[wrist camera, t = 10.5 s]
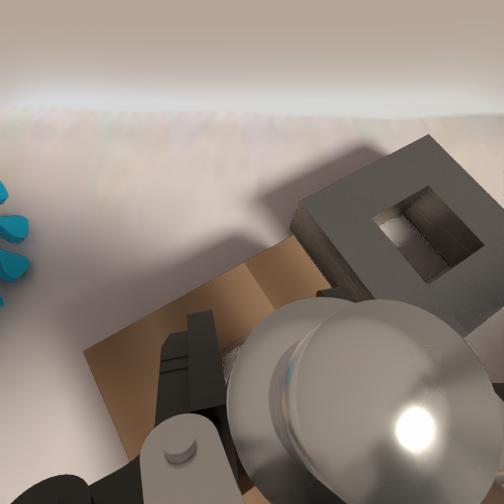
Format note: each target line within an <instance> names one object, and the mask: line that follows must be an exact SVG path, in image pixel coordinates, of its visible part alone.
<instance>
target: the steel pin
mask: <svg viewBox="0 0 504 504" xmlns="http://www.w3.org/2000/svg"><path fill="white" fill-rule="evenodd" d="M226 393H227V403H226V404H227V418H228V424H229V429H230V432H231V436H232V439H233V442H234V445H235V448H236V451H237V454H238V456H239V459H240V461H241V463H242V465H243V467H244V469H245V471H246V472H247V474H248V476H249V477H250V479H251V481H252V482H253V484H254V485H255V486H256V487H257V489H258V490H259V491H260V492H261V494H262V495H263V496H264V497H265V498H266V499H267V500H268V501H269V502H270V503H271V504H480V503H481V502H482V500H483V499H484V498H485V497H486V495H487V493H488V491H489V490H490V488H491V486H492V484H493V482H494V479H495V476H496V474H497V471H498V467H499V463H500V459H501V451H502V422H501V415H500V409H499V405H498V401H497V397H496V394H495V392H494V389H493V386H492V383H491V381H490V379H489V377H488V375H487V373H486V371H485V369H484V367H483V365H482V364H481V362H480V360H479V359H478V357H477V356H476V354H475V353H474V352H473V350H472V349H471V348H470V346H469V345H468V344H467V343H466V342H465V341H464V339H463V338H462V337H461V336H460V335H459V334H458V333H457V332H456V331H455V330H453V329H452V328H451V327H450V326H449V325H448V324H446V323H445V322H444V321H442V320H441V319H439V318H438V317H436V316H435V315H433V314H431V313H429V312H428V311H426V310H424V309H421V308H419V307H417V306H414V305H411V304H408V303H405V302H400V301H395V300H384V299H376V300H366V301H362V302H358V303H354V302H351V301H347V300H343V299H338V298H330V297H316V298H307V299H302V300H298V301H295V302H292V303H289V304H287V305H285V306H283V307H281V308H279V309H277V310H275V311H274V312H272V313H271V314H270V315H268V316H267V317H266V318H264V319H263V320H262V321H261V322H260V323H259V324H258V325H257V326H256V327H255V328H254V330H253V331H252V332H251V333H250V335H249V336H248V337H247V339H246V341H245V342H244V344H243V345H242V347H241V349H240V351H239V353H238V356H237V358H236V360H235V363H234V365H233V368H232V371H231V373H230V376H229V378H228V381H227V384H226Z"/></svg>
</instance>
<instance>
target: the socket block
mask: <svg viewBox="0 0 504 504" xmlns="http://www.w3.org/2000/svg"><path fill="white" fill-rule="evenodd" d="M401 212H403V213H404V214H405V215H406V216H407V217H408V219H409V220H410V221H411V222H412V223H413V224H414V225H415V227H416V228H417V229H418V230H419V231H420V232H421V233H422V235H423V236H424V237H425V238H426V239H427V240H428V241H429V242H430V244H431V245H432V246H433V247H434V248H435V249H436V250H437V252H438V253H439V254H440V255H441V256H442V257H443V258H444V260H445V261H446V262H447V263H448V264H449V265H450V266H448V267H447V268H446V269H444V270H443V271H441V272H440V273H438V274H437V275H436V276H434V277H433V278H431V279H430V280H428V281H427V282H426V283H425V281H424V280H423V279H422V278H421V277H420V275H419V274H418V273H417V272H416V271H415V269H414V268H413V267H412V266H411V265H410V263H409V262H408V261H407V260H406V259H405V257H404V256H403V255H402V254H401V253H400V251H399V250H398V249H397V248H396V247H395V245H394V244H393V243H392V242H391V241H390V240H389V238H388V237H387V236H386V235H385V234H384V232H383V231H382V230H381V229H380V228H379V225H381V224H383V223H384V222H386V221H388V220H389V219H391V218H393V217H394V216H396V215H398V214H400V213H401ZM290 228H291V229H292V231H293V232H294V234H295V235H296V236H297V238H298V239H299V240H300V242H301V243H302V244H303V246H304V247H305V249H306V250H307V251H308V253H309V254H310V255H311V257H312V258H313V259H314V261H315V262H316V264H317V265H318V266H319V268H320V269H321V270H322V272H323V273H324V274H325V276H326V277H327V279H328V280H329V281H330V283H331V284H332V285H333V287H334V288H335V287H344V288H345V289H346V290H347V291H348V292H349V293H350V294H351V295H352V296H353V297H354V298H355V299H356V300H364V301H366V300H376V299H384V300H395V301H400V302H405V303H408V304H411V305H414V306H417V307H419V308H421V309H424V310H426V311H428V312H429V313H431V314H433V315H435V316H436V317H438V318H439V319H441V320H442V321H444V322H445V323H446V324H448V325H449V326H450V327H451V328H452V329H453V330H455V331H456V332H457V333H458V334H459V335H460V336H461V337H462V338H464V337H466V336H467V335H468V334H469V333H471V332H472V331H473V330H474V329H476V328H477V327H478V326H479V325H481V324H482V323H483V322H484V321H486V320H487V319H488V318H489V317H491V316H492V315H493V314H494V313H496V312H497V311H498V310H499V309H501V308H502V307H503V306H504V209H503V208H502V207H501V206H500V205H499V204H498V203H497V202H496V201H495V200H494V199H493V198H492V197H491V196H490V195H489V194H488V193H487V192H486V191H485V190H484V189H483V188H482V187H481V186H480V185H479V184H478V183H477V182H476V181H475V180H474V179H473V178H472V177H471V176H470V175H469V174H468V173H467V172H466V171H465V170H464V169H463V168H462V167H461V166H460V165H459V164H458V163H457V162H456V161H455V160H454V159H453V158H452V157H451V156H450V155H449V154H448V153H447V152H446V151H445V150H444V149H443V148H442V147H441V146H440V145H439V144H438V143H437V142H436V141H435V140H434V139H433V138H432V137H431V136H430V135H429V134H428V135H426V136H424V137H422V138H420V139H418V140H417V141H415V142H413V143H411V144H409V145H407V146H405V147H403V148H401V149H399V150H397V151H395V152H393V153H392V154H390V155H388V156H386V157H384V158H382V159H380V160H378V161H376V162H374V163H372V164H370V165H369V166H367V167H365V168H363V169H361V170H359V171H357V172H355V173H353V174H351V175H349V176H347V177H345V178H344V179H342V180H340V181H338V182H336V183H334V184H332V185H330V186H328V187H326V188H324V189H322V190H320V191H319V192H317V193H315V194H313V195H311V196H309V197H307V198H305V199H303V200H301V201H300V203H299V205H298V208H297V210H296V213H295V215H294V218H293V220H292V223H291V225H290Z"/></svg>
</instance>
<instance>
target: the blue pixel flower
mask: <svg viewBox="0 0 504 504" xmlns="http://www.w3.org/2000/svg"><path fill="white" fill-rule="evenodd" d="M7 198H8V193H7V191H6V188H5V187H4V185H3V184H2V183H1V181H0V205H1V204H3V203H4V201H5V200H6V199H7ZM28 230H29V225H28V219H26V218H25V217H22V216H10V217H0V235H1V236H2V237H3V238H4V239H5V240H7V241H9V242H12V243H20V242H22V241H23V240H24V239H25V238H26V236H27V234H28ZM29 265H30V261H29V260H28V259H27V258H26V257H24V256H21V255H16V254H12V253H8V252H6V251H3V250H1V249H0V278H1V279H2V280H4V281H5V282H8V283H12V282H14V281H15V280H17V279H18V278H19V277H20V276H21V275H22V274H23V273H25V271H26V270H27V269H28V267H29ZM3 305H4V301H3V298H2V297H1V295H0V307H2V306H3Z"/></svg>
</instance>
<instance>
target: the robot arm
mask: <svg viewBox="0 0 504 504" xmlns="http://www.w3.org/2000/svg"><path fill="white" fill-rule="evenodd" d="M316 297H330V298H338V299H343V300H347V301H351V302H354V303H358V302H362V301H364V300H356V299H355V298H354V297H353V296H352V295H351V294H350V293H349V292H348V291H347V290H346V289H345V288H344V287H335V288H329V289H323V290H318V291H317V293H316ZM492 386H493V389H494V392H495V394H496V397H497V401H498V405H499V409H500V415H501V422H502V451H501V459H500V463H499V467H498V471H497V474H496V476H495V479H494V482H493V484H492V486H491V488H490V490H489V491H488V493H487V495H486V497H485V498H484V499H483V500H482V502H481V503H480V504H504V383H492ZM226 403H227V393H226V387H225V381H224V375H223V369H222V364H221V358H220V352H219V346H218V340H217V335H216V329H215V323H214V317H213V311H212V308H211V309H205V310H199V311H193V312H187V331H182V332H176V333H171V334H169V336H168V337H167V339H166V340H165V342H164V343H163V345H162V346H161V355H160V367H159V379H158V391H157V403H156V414H155V425H154V429H153V430H152V431H151V433H150V434H149V435H148V436H147V438H146V440H145V441H144V443H143V446H142V448H141V452H140V454H139V455H138V456H136V457H135V458H134V459H133V460H132V461H131V462H129V463H128V464H127V465H125V466H124V467H122V468H120V469H119V470H117V471H115V472H113V473H111V474H110V475H108V476H106V477H104V478H102V479H100V480H98V481H97V482H95V483H93V484H91V485H89V486H88V484H87V483H86V482H85V481H84V480H83V479H82V478H80V477H78V476H75V475H68V474H65V475H58V476H54V477H50V478H48V479H45V480H43V481H41V482H39V483H37V484H35V485H34V486H32V487H31V488H29V489H28V490H26V491H25V492H23V493H22V494H21V495H20V496H18V497H17V498H16V499H15V500H14V501H13V502H12V503H11V504H244V502H243V500H242V497H241V494H240V491H239V489H238V486H237V485H239V478H238V470H237V463H236V456H235V448H234V442H233V439H232V436H231V432H230V429H229V424H228V418H227V404H226Z"/></svg>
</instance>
